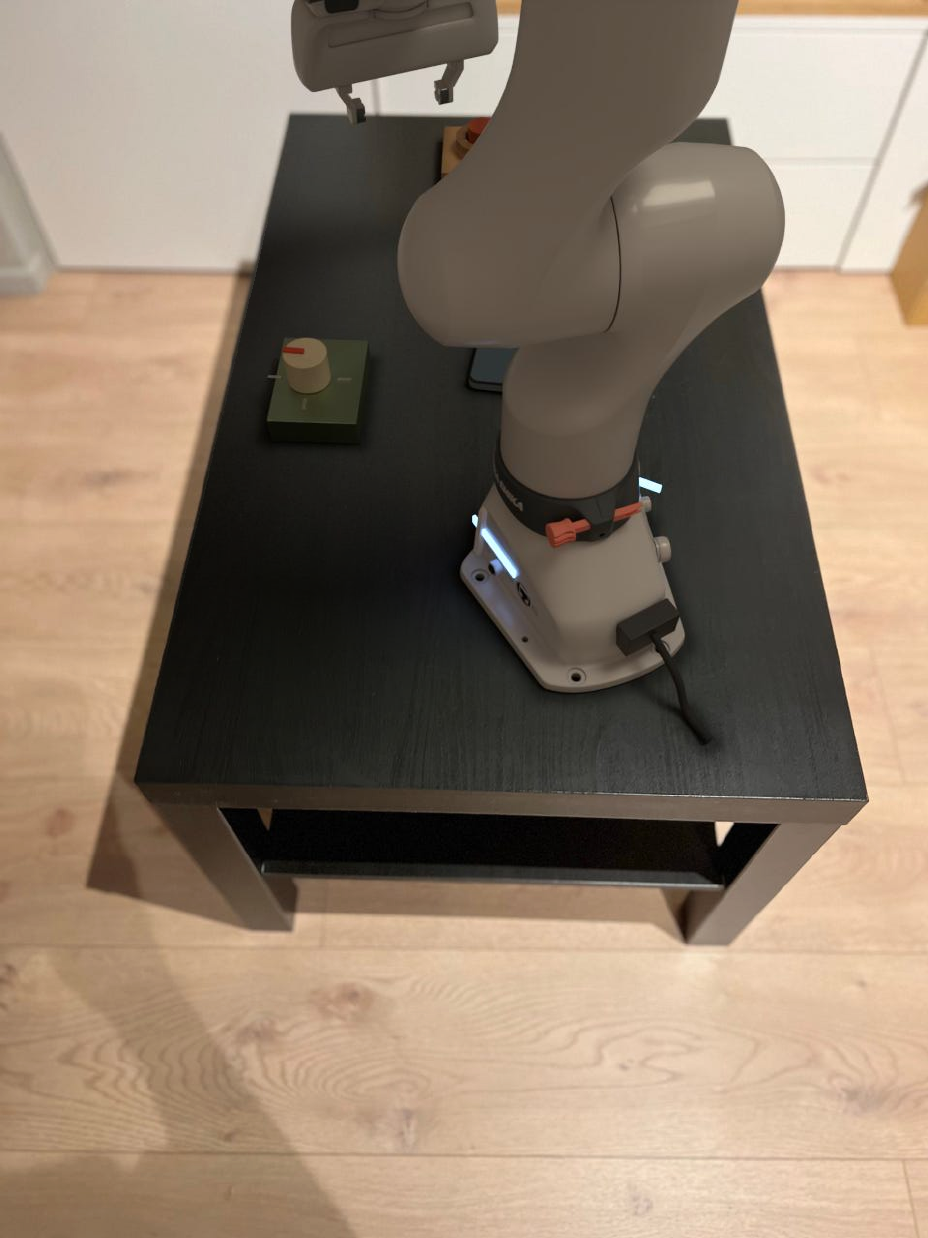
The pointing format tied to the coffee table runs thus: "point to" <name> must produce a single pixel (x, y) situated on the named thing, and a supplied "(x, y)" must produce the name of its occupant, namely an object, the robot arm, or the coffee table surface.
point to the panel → (323, 398)
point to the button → (476, 128)
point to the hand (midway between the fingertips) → (400, 110)
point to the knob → (306, 365)
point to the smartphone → (490, 368)
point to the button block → (454, 147)
